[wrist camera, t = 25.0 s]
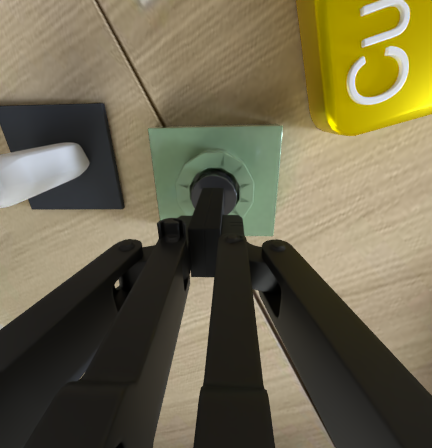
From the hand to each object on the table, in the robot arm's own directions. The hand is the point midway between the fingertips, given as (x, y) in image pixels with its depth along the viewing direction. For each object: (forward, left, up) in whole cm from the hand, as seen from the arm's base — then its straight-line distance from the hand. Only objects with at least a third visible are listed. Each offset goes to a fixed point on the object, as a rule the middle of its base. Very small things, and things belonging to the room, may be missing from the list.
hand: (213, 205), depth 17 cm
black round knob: (0, 0, -3) cm, 3 cm away
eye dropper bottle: (-15, +2, -7) cm, 17 cm away
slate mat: (-15, +2, -7) cm, 17 cm away
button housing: (0, 0, -7) cm, 7 cm away
